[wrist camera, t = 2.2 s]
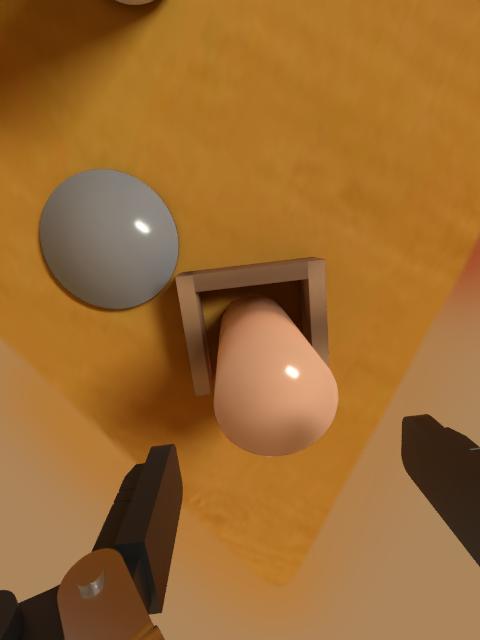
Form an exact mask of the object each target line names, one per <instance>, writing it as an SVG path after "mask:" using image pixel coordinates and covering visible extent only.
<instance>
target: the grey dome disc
mask: <svg viewBox="0 0 480 640" xmlns="http://www.w3.org/2000/svg"><path fill="white" fill-rule="evenodd" d="M40 242H41V247H42V251H43V254H44V257H45V260H46V262H47V264H48V266H49V268H50V270H51V271H52V273H53V275H54V276H55V277H56V279H57V280H58V281H59V282H60V284H61V285H63V286H64V287H65V288H66V289H67V290H68V291H69V292H70V293H72V294H73V295H74V296H76V297H77V298H79V299H81V300H83V301H85V302H87V303H89V304H92V305H95V306H98V307H102V308H108V309H125V308H130V307H134V306H137V305H140V304H142V303H144V302H146V301H148V300H150V299H151V298H153V297H154V296H155V295H157V294H158V293H159V292H160V291H161V290H162V289H163V288H164V287H165V286H166V285H167V283H168V282H169V280H170V279H171V277H172V275H173V273H174V271H175V268H176V265H177V261H178V255H179V237H178V232H177V227H176V224H175V221H174V219H173V216H172V214H171V212H170V210H169V209H168V207H167V206H166V204H165V203H164V201H163V200H162V199H161V198H160V197H159V195H158V194H157V193H156V192H155V191H153V190H152V189H151V188H150V187H149V186H147V185H146V184H144V183H143V182H142V181H140V180H138V179H136V178H135V177H133V176H131V175H128V174H125V173H123V172H119V171H115V170H107V169H94V170H89V171H84V172H81V173H78V174H75V175H74V176H72V177H70V178H68V179H67V180H65V181H64V182H63V183H61V184H60V185H59V186H58V187H57V188H56V189H55V190H54V191H53V193H52V194H51V196H50V197H49V199H48V201H47V202H46V204H45V207H44V210H43V212H42V216H41V221H40Z"/></svg>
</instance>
